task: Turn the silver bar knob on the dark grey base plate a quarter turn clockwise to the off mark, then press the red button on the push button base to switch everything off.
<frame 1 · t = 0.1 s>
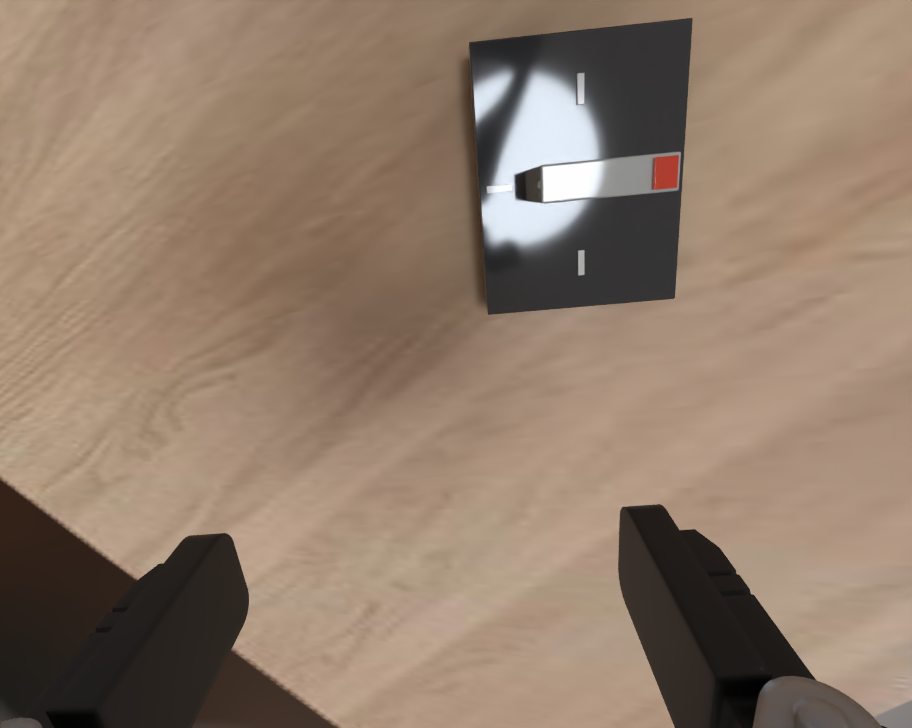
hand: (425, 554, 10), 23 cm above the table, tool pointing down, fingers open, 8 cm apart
hob knob: (594, 179, 23), point 6 cm above the table, hinge at 90.0°
dark grey base plate: (568, 182, 29), on the table
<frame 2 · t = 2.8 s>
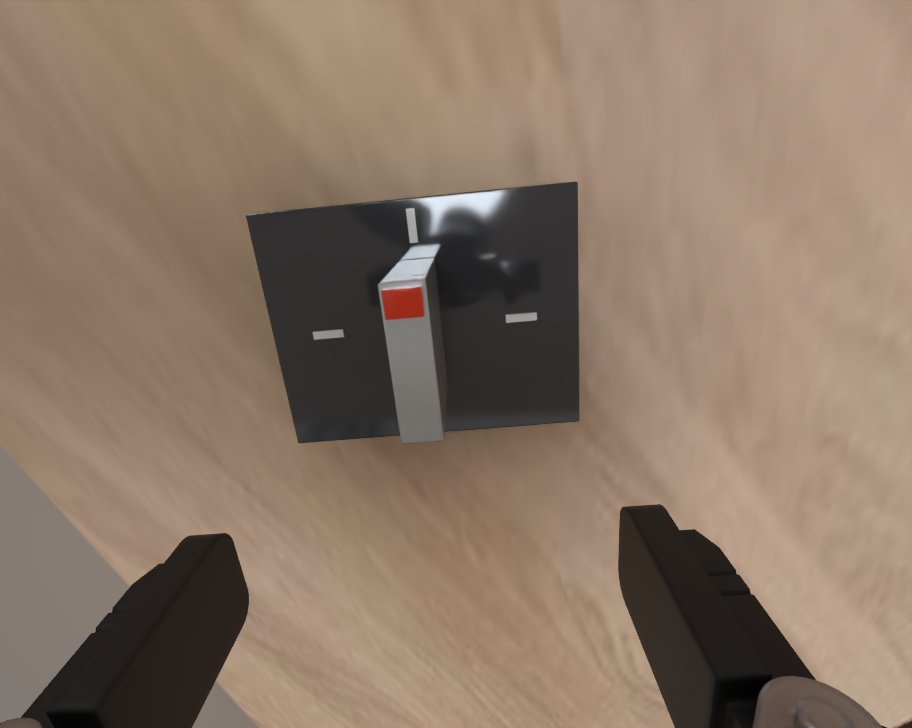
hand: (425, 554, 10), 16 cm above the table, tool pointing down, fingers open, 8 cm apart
hob knob: (418, 344, 19), point 6 cm above the table, hinge at 90.0°
dark grey base plate: (428, 310, 25), on the table
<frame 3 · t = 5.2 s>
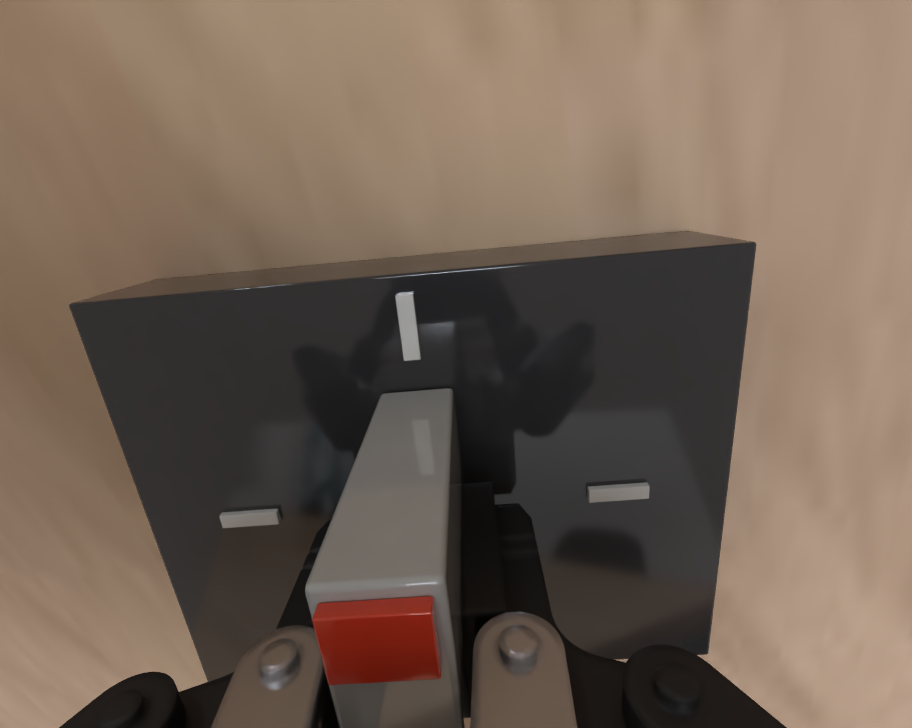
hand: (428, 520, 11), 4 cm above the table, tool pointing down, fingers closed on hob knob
hob knob: (422, 601, 9), point 6 cm above the table, hinge at 90.1°, touching gripper
dark grey base plate: (437, 442, 14), on the table
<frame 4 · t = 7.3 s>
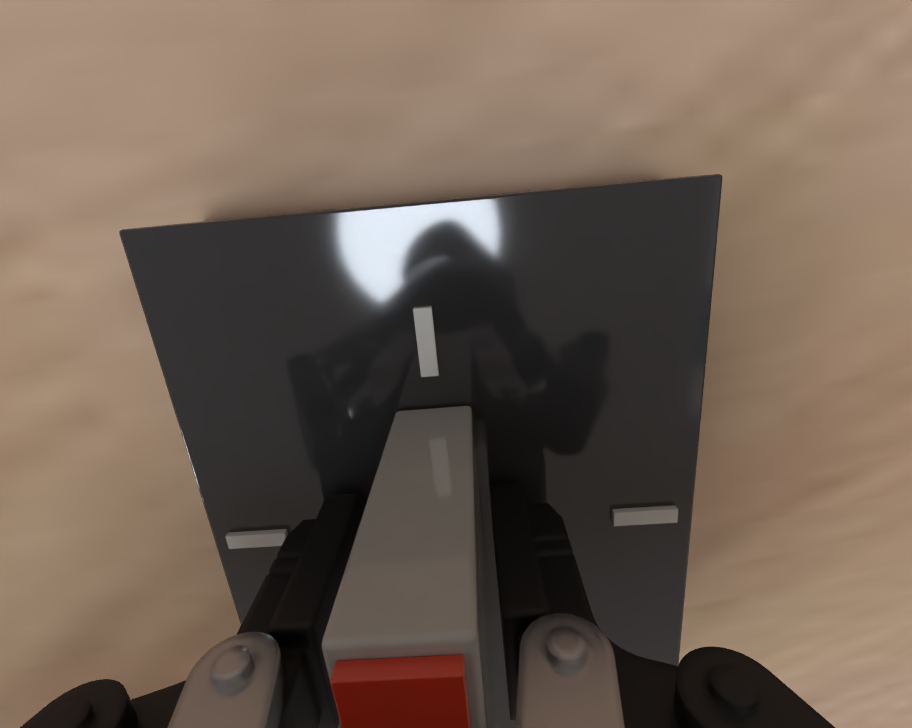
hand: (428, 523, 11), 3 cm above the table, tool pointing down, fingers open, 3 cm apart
hob knob: (441, 636, 8), point 6 cm above the table, hinge at 0.3°
dark grey base plate: (451, 457, 14), on the table
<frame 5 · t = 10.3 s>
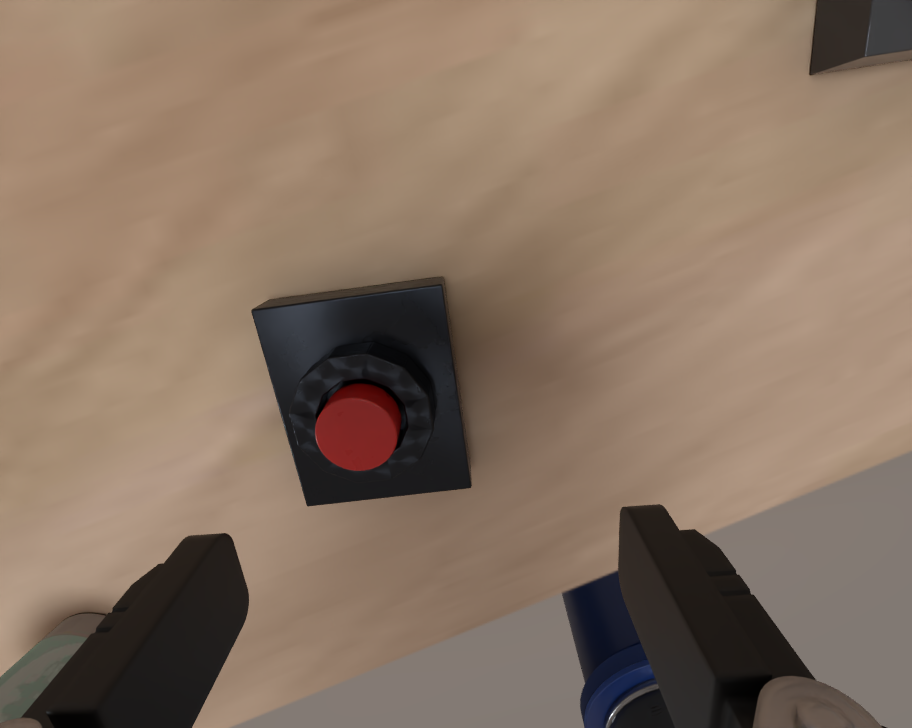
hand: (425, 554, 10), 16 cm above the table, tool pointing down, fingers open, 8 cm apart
power button: (359, 426, 22), point 4 cm above the table, slide at 0.1 cm
coffee cup: (102, 642, 32), on the table
push button base: (375, 388, 26), on the table
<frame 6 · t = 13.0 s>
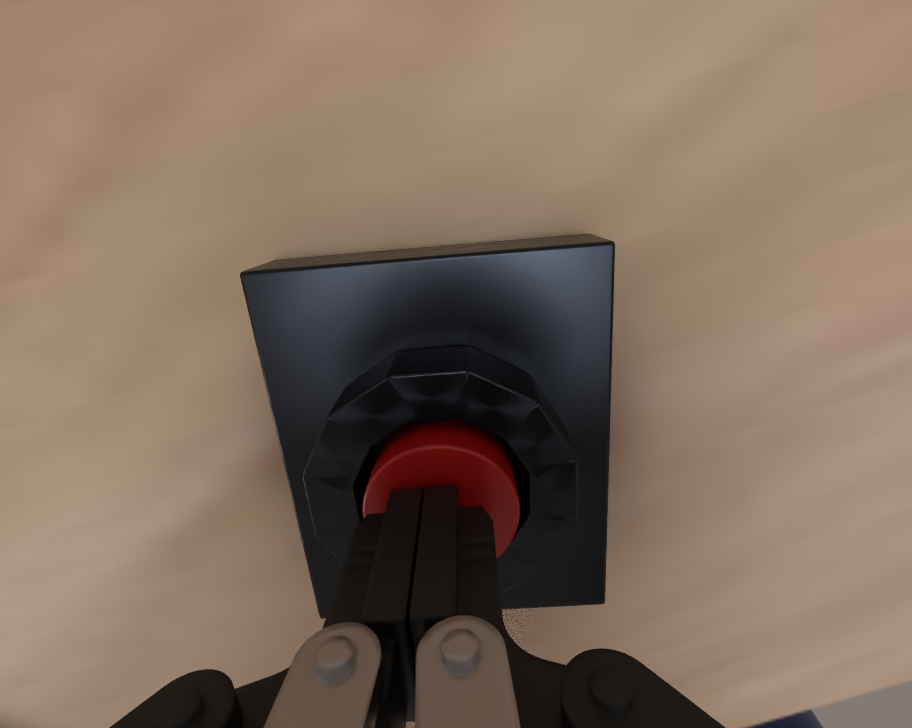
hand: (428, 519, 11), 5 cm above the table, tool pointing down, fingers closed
power button: (442, 492, 12), point 4 cm above the table, slide at -0.6 cm, touching gripper
push button base: (447, 423, 15), on the table
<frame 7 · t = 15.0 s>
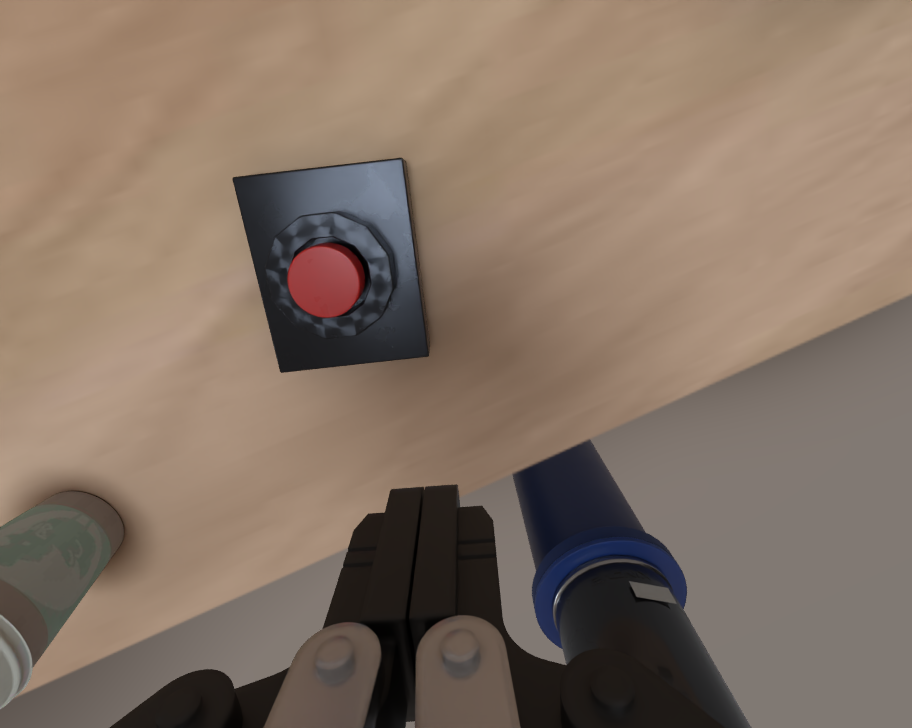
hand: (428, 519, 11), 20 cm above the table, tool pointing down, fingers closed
power button: (327, 279, 25), point 4 cm above the table, slide at 0.1 cm
coffee cup: (84, 522, 35), on the table
push button base: (344, 267, 29), on the table
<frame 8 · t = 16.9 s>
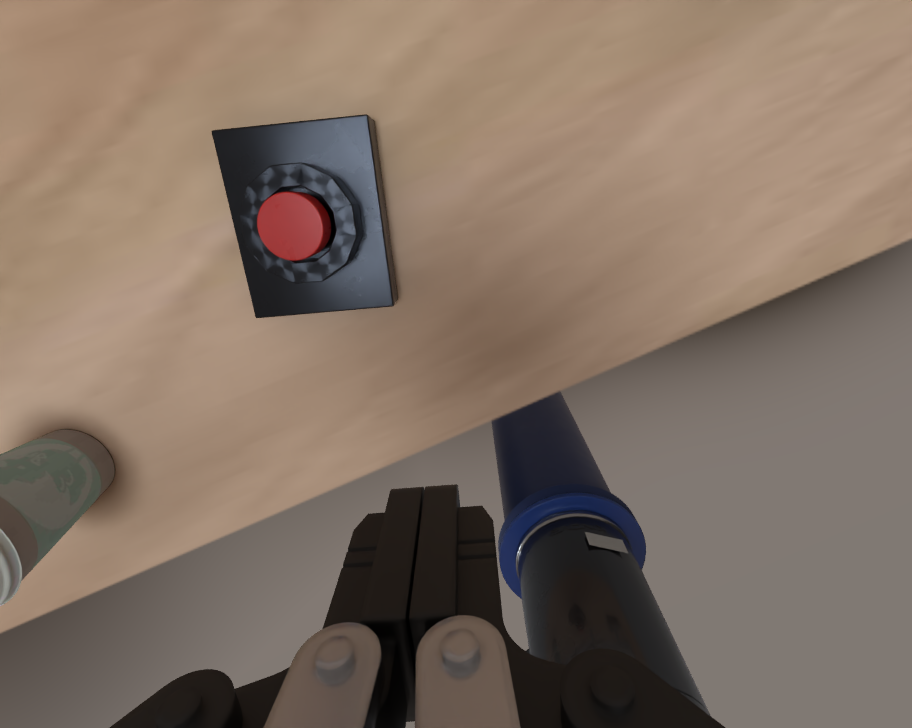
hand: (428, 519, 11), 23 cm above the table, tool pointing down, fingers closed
power button: (295, 226, 27), point 4 cm above the table, slide at 0.1 cm
coffee cup: (79, 460, 37), on the table
push button base: (317, 221, 31), on the table
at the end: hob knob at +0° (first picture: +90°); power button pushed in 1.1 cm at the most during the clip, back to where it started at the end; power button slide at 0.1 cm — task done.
